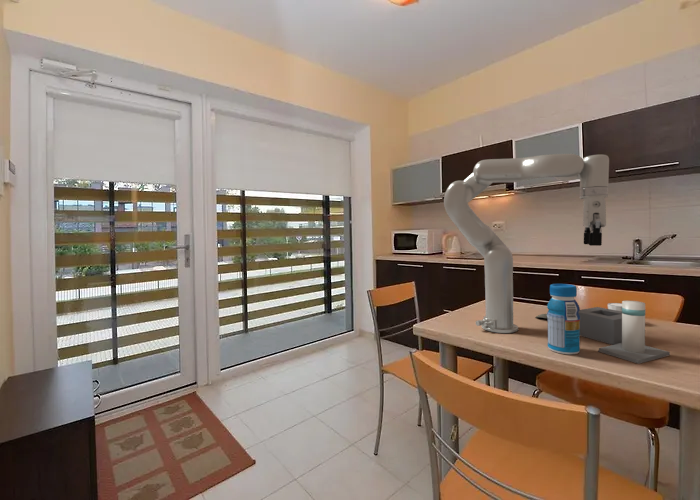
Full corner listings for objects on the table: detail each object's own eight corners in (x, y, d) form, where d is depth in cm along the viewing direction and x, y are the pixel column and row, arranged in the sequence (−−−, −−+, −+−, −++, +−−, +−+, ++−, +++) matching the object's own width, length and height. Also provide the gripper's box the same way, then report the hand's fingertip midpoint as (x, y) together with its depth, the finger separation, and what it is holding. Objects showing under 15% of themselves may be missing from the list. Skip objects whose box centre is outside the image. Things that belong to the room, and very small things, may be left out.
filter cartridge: (637, 354, 89) (638, 305, 89) (617, 348, 94) (617, 301, 94) (649, 351, 91) (649, 303, 91) (628, 345, 96) (628, 299, 95)
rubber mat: (638, 363, 86) (638, 360, 86) (598, 351, 95) (598, 348, 95) (669, 355, 90) (669, 351, 90) (628, 344, 100) (628, 341, 100)
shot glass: (628, 321, 124) (628, 303, 123) (632, 326, 118) (632, 307, 118) (606, 319, 127) (606, 302, 127) (608, 323, 122) (608, 305, 121)
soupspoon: (548, 319, 135) (532, 320, 135) (547, 311, 135) (532, 312, 135) (586, 333, 113) (568, 334, 113) (586, 323, 113) (567, 325, 113)
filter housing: (613, 345, 100) (614, 319, 99) (572, 333, 112) (572, 311, 112) (640, 339, 104) (640, 314, 104) (597, 328, 116) (597, 306, 116)
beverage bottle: (544, 351, 97) (544, 286, 96) (549, 343, 103) (548, 282, 102) (579, 357, 91) (578, 288, 90) (581, 348, 98) (581, 284, 97)
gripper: (614, 189, 96) (612, 246, 97) (601, 195, 112) (600, 243, 113) (584, 191, 100) (582, 246, 101) (575, 196, 115) (574, 243, 116)
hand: (592, 244), depth 107 cm, fingers open, 9 cm apart
